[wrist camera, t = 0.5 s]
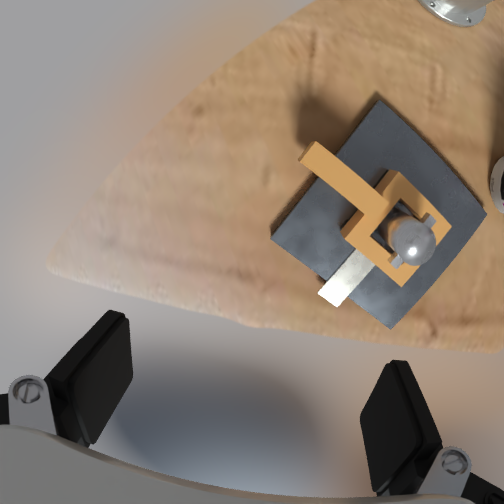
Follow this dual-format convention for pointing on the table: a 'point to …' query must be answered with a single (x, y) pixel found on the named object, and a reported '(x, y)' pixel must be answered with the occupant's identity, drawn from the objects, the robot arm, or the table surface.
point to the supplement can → (498, 185)
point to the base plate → (337, 211)
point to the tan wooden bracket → (372, 206)
